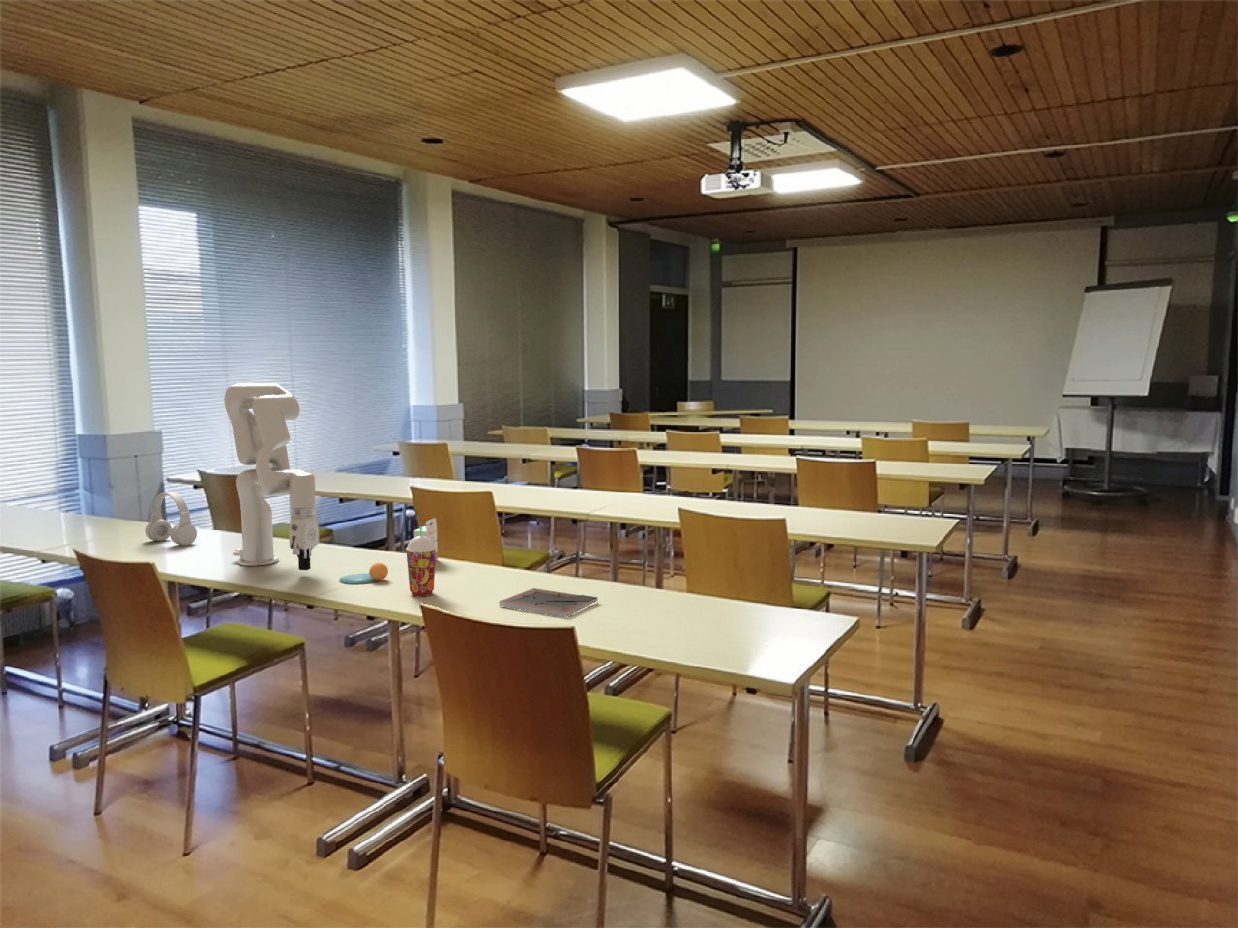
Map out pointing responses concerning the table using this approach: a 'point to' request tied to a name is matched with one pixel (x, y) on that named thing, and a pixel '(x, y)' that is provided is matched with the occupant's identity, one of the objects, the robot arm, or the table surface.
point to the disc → (357, 579)
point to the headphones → (162, 529)
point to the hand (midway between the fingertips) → (304, 569)
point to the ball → (378, 571)
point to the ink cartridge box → (429, 533)
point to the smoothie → (421, 565)
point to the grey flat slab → (548, 602)
